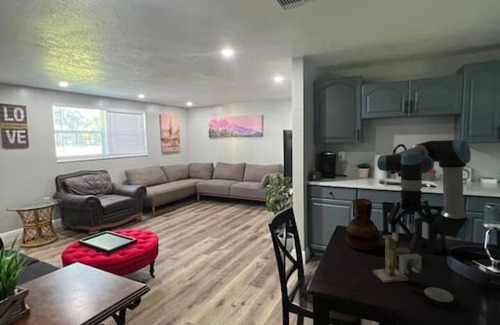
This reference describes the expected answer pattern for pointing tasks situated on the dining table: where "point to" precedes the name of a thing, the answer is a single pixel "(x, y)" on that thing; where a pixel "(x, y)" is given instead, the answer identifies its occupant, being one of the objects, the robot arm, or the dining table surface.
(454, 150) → the robot arm
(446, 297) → the felt pad
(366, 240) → the ceramic pitcher
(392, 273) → the peg stand
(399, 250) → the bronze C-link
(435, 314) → the dining table surface
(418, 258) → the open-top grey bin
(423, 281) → the dining table surface
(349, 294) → the dining table surface
